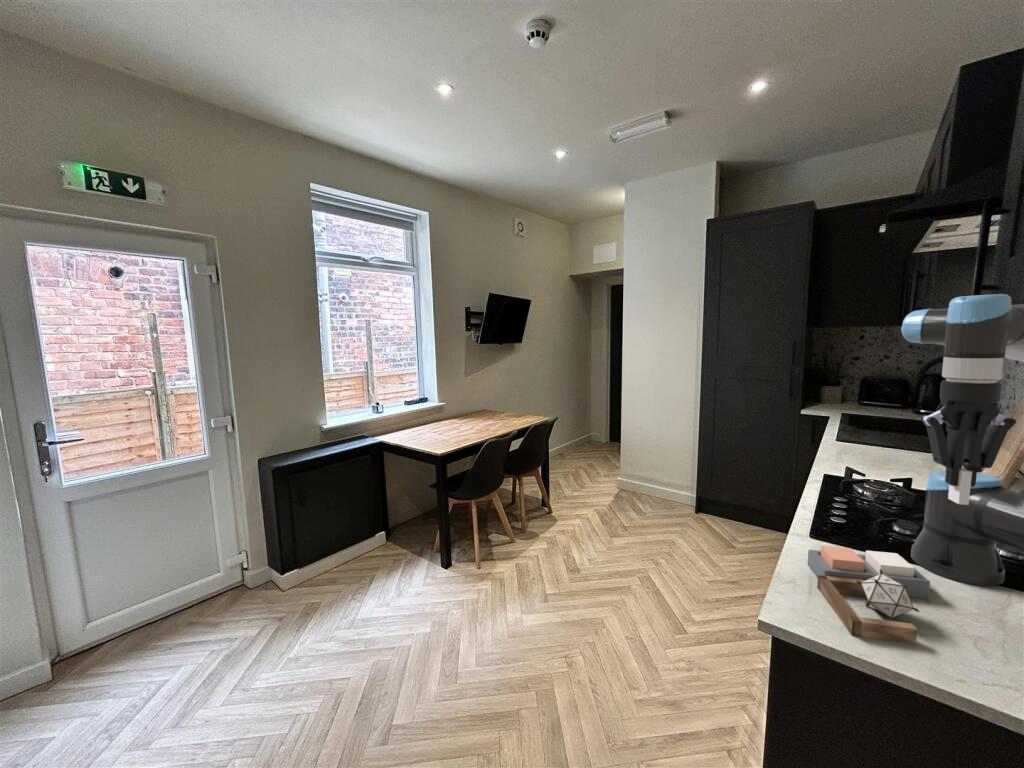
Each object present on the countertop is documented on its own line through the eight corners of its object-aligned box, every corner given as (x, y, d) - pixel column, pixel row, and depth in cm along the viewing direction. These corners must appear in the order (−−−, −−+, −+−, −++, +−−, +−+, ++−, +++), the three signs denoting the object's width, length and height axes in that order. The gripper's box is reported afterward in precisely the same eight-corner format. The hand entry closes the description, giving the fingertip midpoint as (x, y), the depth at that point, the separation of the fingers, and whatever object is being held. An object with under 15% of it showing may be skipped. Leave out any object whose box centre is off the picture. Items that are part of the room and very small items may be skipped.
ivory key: (896, 565, 94) (897, 553, 94) (913, 580, 89) (914, 568, 88) (864, 562, 96) (865, 550, 96) (879, 577, 90) (880, 564, 90)
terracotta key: (849, 560, 97) (850, 548, 96) (863, 574, 91) (864, 562, 91) (820, 557, 98) (821, 545, 98) (832, 571, 93) (832, 559, 92)
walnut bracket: (870, 593, 89) (871, 580, 89) (916, 644, 75) (917, 629, 75) (817, 587, 92) (817, 575, 92) (851, 635, 78) (852, 620, 78)
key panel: (901, 574, 95) (902, 558, 95) (928, 598, 87) (929, 581, 86) (807, 564, 101) (808, 549, 100) (823, 586, 92) (824, 570, 92)
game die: (874, 622, 86) (863, 571, 90) (929, 630, 79) (915, 574, 84) (856, 616, 82) (846, 563, 86) (913, 623, 75) (898, 565, 80)
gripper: (998, 377, 77) (985, 496, 80) (913, 377, 81) (903, 491, 84) (1036, 382, 70) (1020, 512, 73) (941, 383, 73) (929, 507, 76)
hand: (958, 501), depth 78 cm, fingers closed
